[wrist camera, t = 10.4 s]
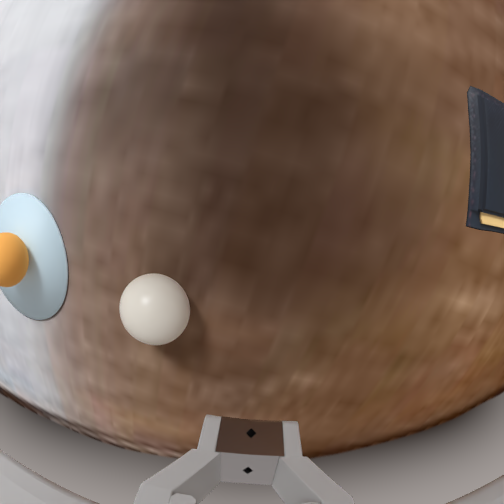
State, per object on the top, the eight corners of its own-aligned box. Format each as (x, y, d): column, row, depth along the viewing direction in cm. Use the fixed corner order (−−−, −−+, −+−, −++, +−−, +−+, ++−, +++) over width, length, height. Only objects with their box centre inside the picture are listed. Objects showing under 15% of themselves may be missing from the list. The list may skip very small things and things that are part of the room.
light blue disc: (-20, 251, 24) (-21, 251, 23) (22, 165, 21) (20, 165, 21) (37, 339, 26) (36, 340, 25) (91, 268, 23) (89, 269, 23)
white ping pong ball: (169, 350, 17) (215, 302, 21) (112, 285, 17) (166, 248, 21) (146, 365, 21) (186, 325, 25) (100, 314, 20) (144, 279, 25)
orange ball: (-31, 270, 16) (10, 274, 18) (-16, 221, 19) (24, 221, 21) (-8, 292, 21) (31, 297, 23) (3, 248, 23) (39, 250, 25)
